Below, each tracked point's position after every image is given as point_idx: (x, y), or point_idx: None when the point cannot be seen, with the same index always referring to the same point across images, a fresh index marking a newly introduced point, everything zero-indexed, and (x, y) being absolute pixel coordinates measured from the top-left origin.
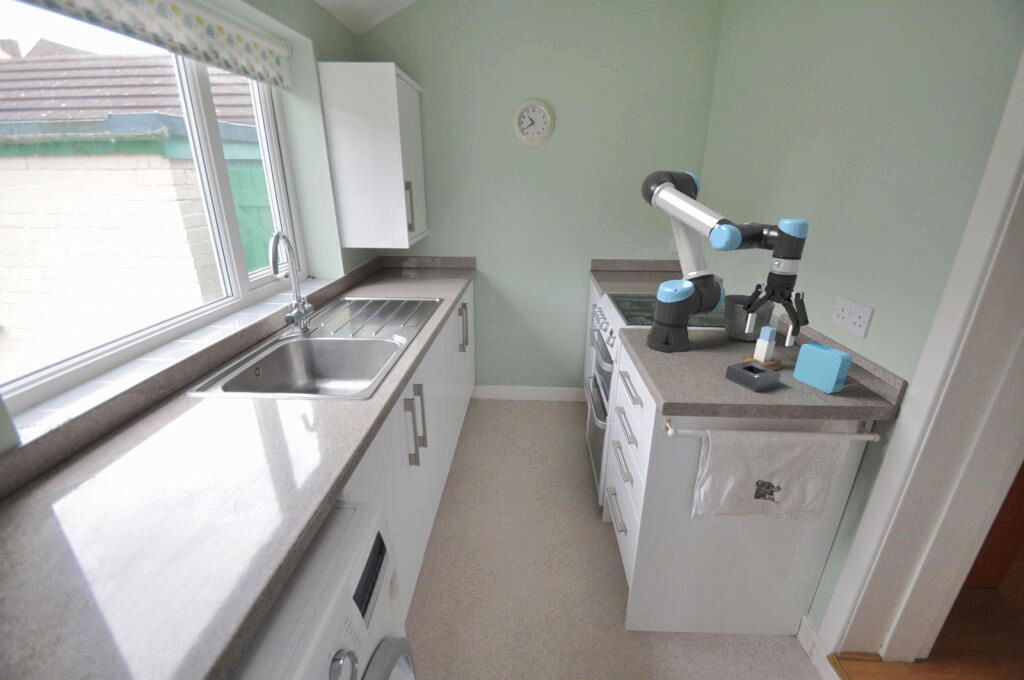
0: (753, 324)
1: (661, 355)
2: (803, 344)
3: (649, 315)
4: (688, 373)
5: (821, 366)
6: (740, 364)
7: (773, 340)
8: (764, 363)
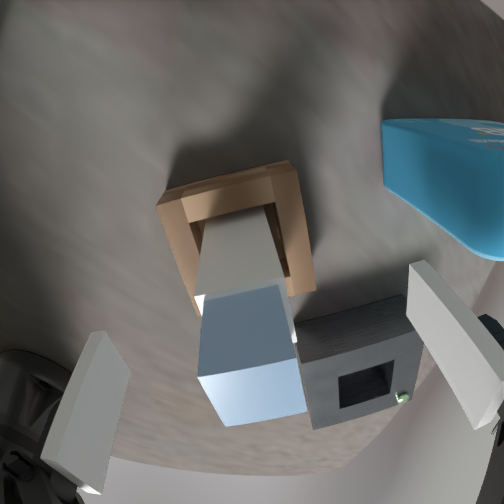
0: (90, 383)
1: (126, 436)
2: (491, 257)
3: None
4: (245, 438)
5: None
6: (316, 401)
7: (279, 293)
8: (298, 280)
